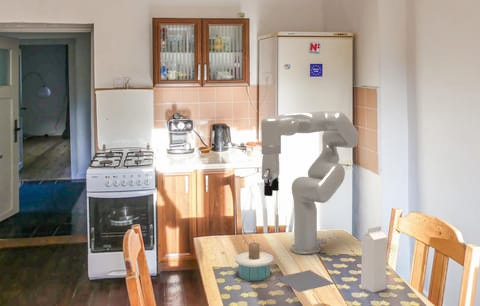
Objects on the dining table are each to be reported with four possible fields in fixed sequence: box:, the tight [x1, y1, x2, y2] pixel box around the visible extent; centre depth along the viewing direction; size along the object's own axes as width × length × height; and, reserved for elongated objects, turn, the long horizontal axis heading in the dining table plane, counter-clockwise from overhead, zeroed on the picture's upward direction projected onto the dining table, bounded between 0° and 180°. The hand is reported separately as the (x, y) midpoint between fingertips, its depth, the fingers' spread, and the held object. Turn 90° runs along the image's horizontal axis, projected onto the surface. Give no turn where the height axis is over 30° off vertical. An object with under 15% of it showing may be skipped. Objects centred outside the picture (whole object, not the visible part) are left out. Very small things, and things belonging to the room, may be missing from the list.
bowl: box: [237, 263, 271, 282], centre depth 192 cm, size 12×12×6 cm
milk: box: [360, 225, 388, 293], centre depth 176 cm, size 6×6×22 cm
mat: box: [275, 270, 335, 293], centre depth 185 cm, size 15×15×1 cm
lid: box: [234, 242, 274, 267], centre depth 191 cm, size 14×14×6 cm
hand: (271, 193), depth 202 cm, fingers open, 9 cm apart
